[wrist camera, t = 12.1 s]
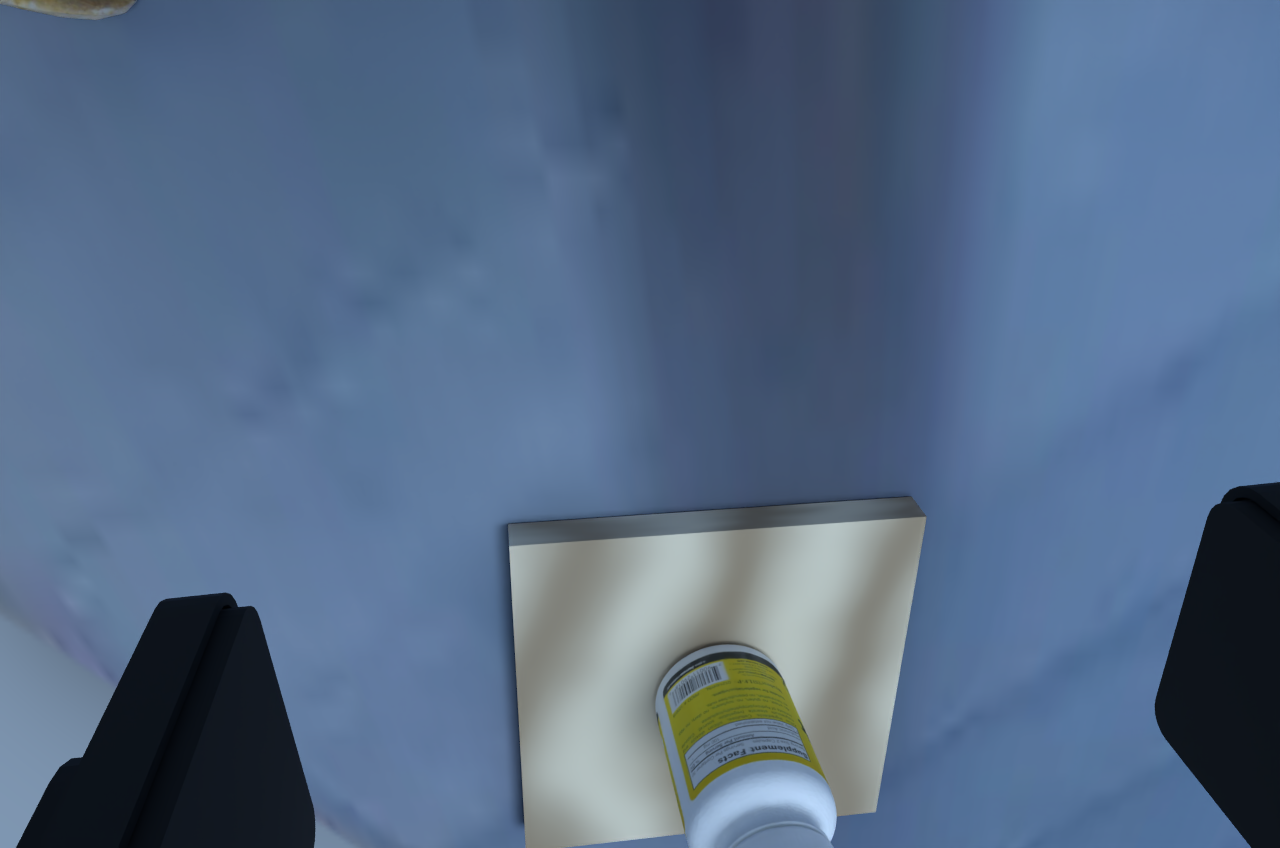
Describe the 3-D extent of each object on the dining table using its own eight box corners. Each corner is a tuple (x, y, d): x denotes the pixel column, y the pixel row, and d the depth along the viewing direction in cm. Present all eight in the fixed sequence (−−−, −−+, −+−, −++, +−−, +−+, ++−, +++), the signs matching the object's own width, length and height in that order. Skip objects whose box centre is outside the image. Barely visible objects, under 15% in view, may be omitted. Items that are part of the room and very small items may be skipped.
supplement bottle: (758, 746, 42) (830, 958, 33) (637, 733, 41) (681, 951, 32) (800, 647, 40) (890, 847, 31) (675, 630, 39) (732, 833, 30)
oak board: (911, 496, 39) (926, 516, 38) (864, 786, 46) (875, 811, 45) (507, 523, 37) (509, 546, 36) (524, 824, 44) (526, 851, 43)
